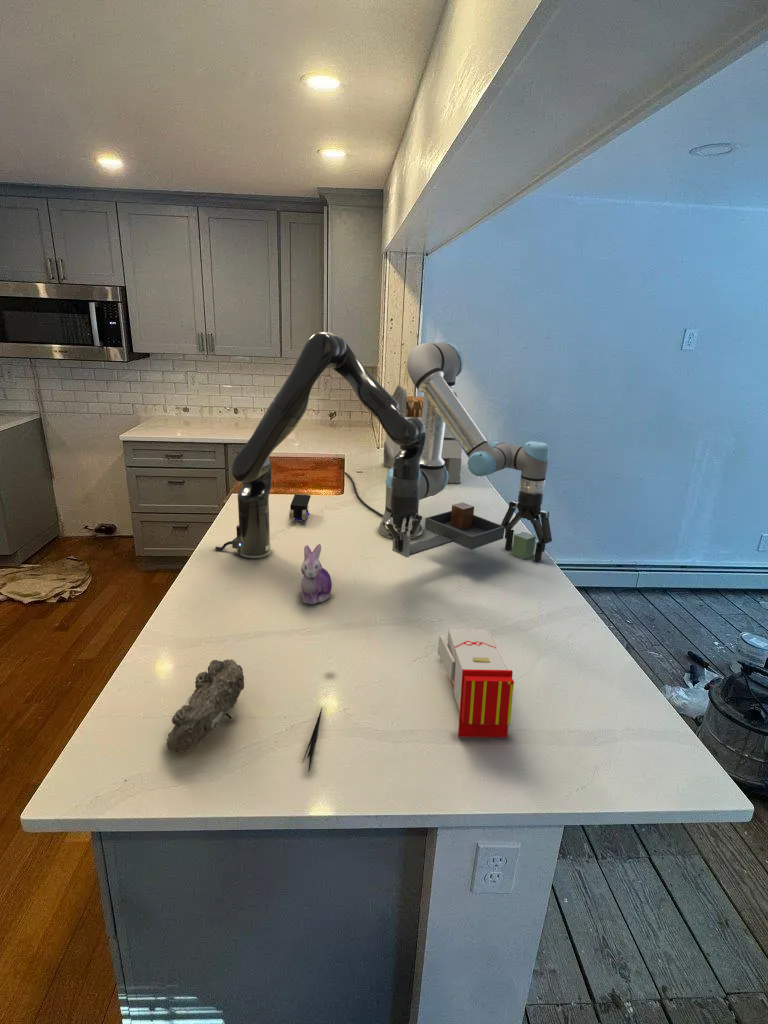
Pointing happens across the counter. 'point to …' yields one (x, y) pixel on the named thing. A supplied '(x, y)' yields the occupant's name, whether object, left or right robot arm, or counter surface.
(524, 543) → the sage block
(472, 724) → the toy
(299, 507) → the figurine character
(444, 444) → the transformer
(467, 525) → the walnut block
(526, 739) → the counter surface
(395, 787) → the counter surface
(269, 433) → the left robot arm
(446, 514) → the tray
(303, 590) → the figurine
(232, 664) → the fossil
